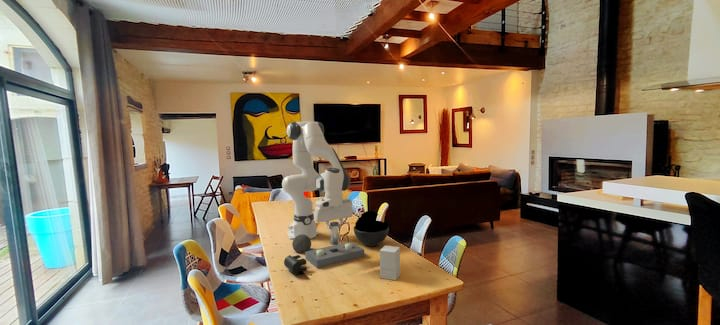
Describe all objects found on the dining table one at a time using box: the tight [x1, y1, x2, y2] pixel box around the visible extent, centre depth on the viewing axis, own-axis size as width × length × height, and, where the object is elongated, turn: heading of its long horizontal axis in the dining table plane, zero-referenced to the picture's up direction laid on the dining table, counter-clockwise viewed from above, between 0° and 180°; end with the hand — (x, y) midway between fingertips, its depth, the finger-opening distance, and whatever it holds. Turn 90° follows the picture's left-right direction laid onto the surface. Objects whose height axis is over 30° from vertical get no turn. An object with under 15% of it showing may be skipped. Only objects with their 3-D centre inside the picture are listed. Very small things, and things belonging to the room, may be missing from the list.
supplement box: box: [379, 245, 401, 281], centre depth 145 cm, size 7×7×13 cm
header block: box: [304, 241, 365, 269], centre depth 165 cm, size 14×26×6 cm, turn 122°
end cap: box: [283, 254, 308, 277], centre depth 151 cm, size 10×7×7 cm
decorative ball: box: [292, 234, 312, 254], centre depth 175 cm, size 10×10×10 cm
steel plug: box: [329, 221, 340, 246], centre depth 164 cm, size 4×4×11 cm
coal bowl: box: [353, 210, 390, 247], centre depth 186 cm, size 20×20×19 cm
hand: (334, 228), depth 164 cm, fingers closed on steel plug, 4 cm apart
